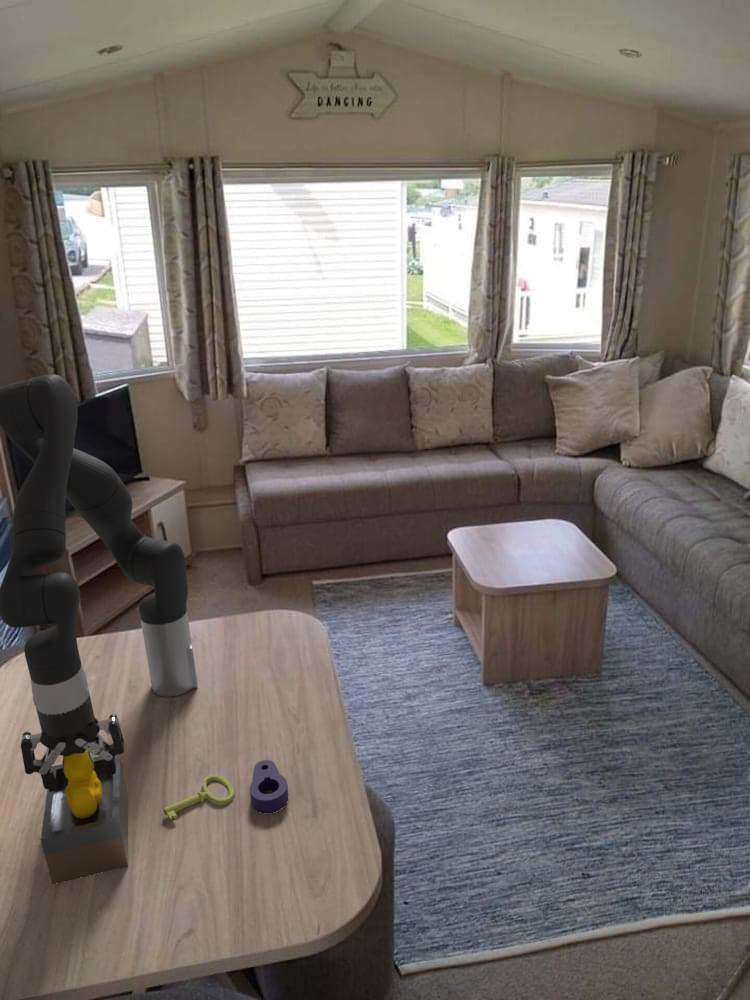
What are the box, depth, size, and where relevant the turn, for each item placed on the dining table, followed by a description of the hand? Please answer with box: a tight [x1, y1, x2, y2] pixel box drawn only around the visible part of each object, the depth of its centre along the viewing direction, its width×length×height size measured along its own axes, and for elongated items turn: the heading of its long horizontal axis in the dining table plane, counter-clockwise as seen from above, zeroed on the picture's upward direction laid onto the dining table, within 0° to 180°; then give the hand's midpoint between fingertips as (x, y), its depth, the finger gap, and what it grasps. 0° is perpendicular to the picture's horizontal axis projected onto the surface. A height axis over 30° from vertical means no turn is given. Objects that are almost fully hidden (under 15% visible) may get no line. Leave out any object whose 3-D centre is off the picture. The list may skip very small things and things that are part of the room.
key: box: [163, 774, 235, 821], centre depth 130 cm, size 7×12×2 cm, turn 145°
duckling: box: [61, 750, 102, 819], centre depth 120 cm, size 11×5×10 cm, turn 21°
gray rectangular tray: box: [40, 754, 129, 886], centre depth 122 cm, size 11×16×9 cm
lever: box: [249, 759, 289, 814], centre depth 133 cm, size 12×6×3 cm, turn 14°
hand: (81, 781), depth 120 cm, fingers open, 8 cm apart
